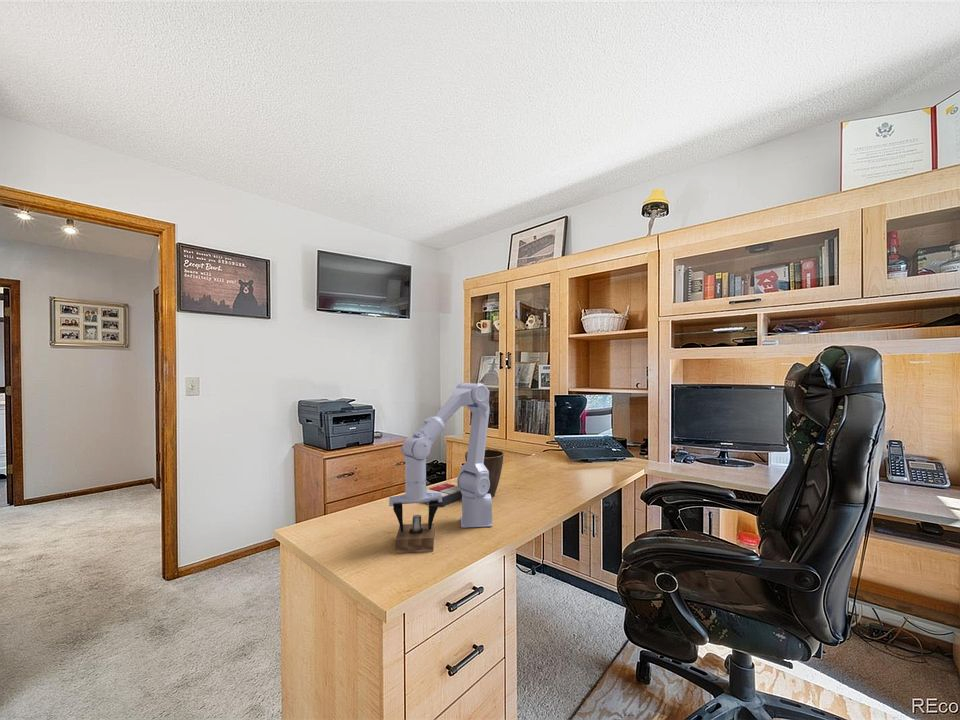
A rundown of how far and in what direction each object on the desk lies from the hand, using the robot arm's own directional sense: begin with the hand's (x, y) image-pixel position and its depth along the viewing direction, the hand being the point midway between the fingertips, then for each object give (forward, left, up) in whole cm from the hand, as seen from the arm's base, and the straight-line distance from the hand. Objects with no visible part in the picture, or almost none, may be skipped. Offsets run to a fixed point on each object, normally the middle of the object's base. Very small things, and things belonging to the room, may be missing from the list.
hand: (415, 529), depth 110 cm
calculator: (-8, -37, -5) cm, 38 cm away
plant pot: (-23, -39, -4) cm, 45 cm away
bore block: (0, 0, -4) cm, 4 cm away
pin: (0, 0, -3) cm, 4 cm away
